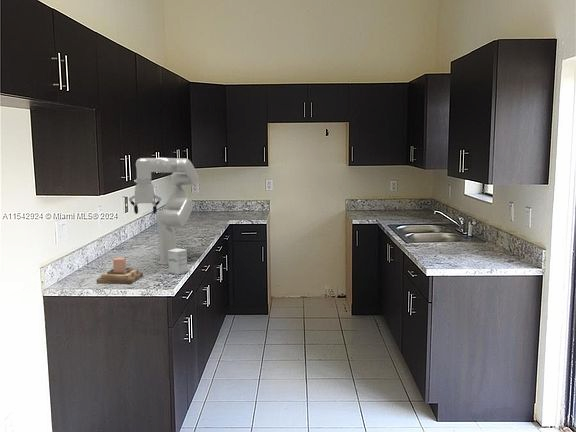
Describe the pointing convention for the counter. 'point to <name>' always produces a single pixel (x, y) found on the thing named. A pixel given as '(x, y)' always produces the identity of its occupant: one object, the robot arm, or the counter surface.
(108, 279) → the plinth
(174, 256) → the supplement box
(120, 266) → the pillar block
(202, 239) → the counter surface
